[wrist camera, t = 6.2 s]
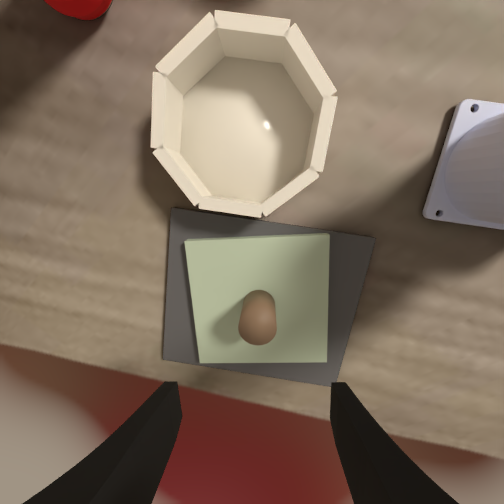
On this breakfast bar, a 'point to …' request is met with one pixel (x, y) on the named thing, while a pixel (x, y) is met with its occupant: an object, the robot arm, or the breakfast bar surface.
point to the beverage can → (81, 8)
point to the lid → (260, 298)
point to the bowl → (242, 113)
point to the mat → (220, 226)
